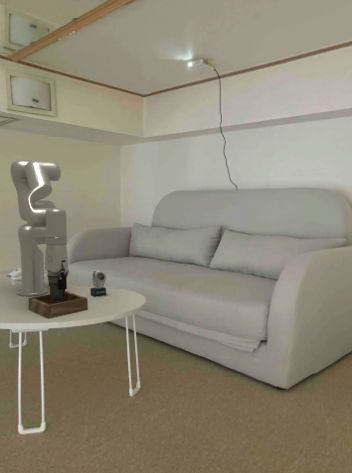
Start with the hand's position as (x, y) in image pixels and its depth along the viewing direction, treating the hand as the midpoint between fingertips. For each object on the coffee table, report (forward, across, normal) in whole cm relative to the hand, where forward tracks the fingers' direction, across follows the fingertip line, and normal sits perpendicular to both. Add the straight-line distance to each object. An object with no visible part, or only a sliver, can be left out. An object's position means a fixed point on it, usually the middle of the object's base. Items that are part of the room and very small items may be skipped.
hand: (57, 287), depth 142 cm
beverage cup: (+7, 0, 0) cm, 7 cm away
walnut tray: (+9, 0, 0) cm, 9 cm away
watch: (+9, -9, +24) cm, 27 cm away
